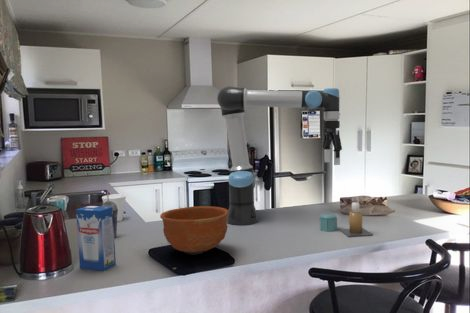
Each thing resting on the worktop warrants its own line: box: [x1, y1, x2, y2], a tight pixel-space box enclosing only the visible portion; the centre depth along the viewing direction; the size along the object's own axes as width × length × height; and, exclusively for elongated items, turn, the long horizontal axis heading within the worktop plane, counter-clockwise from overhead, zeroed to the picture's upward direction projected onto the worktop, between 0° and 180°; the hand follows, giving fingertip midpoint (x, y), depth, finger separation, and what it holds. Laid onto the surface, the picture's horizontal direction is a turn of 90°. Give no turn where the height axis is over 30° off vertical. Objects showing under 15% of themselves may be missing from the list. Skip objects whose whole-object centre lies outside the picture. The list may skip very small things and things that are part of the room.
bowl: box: [159, 205, 229, 253], centre depth 146 cm, size 25×25×15 cm
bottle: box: [339, 201, 374, 238], centre depth 164 cm, size 10×10×13 cm
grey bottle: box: [101, 190, 118, 239], centre depth 170 cm, size 7×7×20 cm
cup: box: [101, 193, 127, 223], centre depth 202 cm, size 12×12×12 cm
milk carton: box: [75, 205, 117, 272], centre depth 135 cm, size 10×6×20 cm, turn 69°
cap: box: [319, 213, 338, 233], centre depth 172 cm, size 7×7×6 cm
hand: (331, 163), depth 198 cm, fingers open, 13 cm apart
